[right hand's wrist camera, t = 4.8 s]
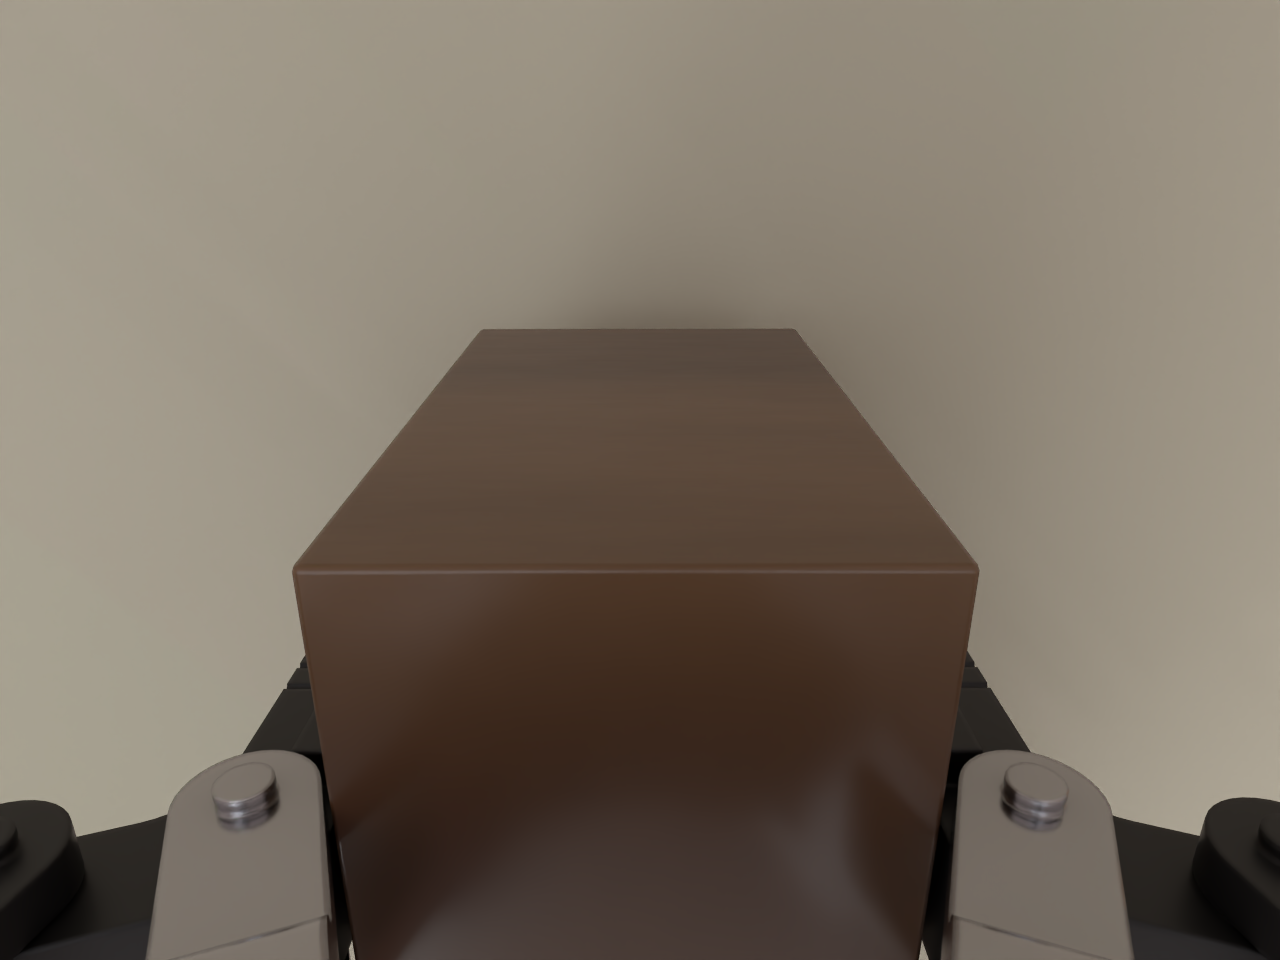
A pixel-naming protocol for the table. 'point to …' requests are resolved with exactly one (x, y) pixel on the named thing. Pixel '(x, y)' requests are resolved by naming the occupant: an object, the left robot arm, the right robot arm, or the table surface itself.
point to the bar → (636, 661)
